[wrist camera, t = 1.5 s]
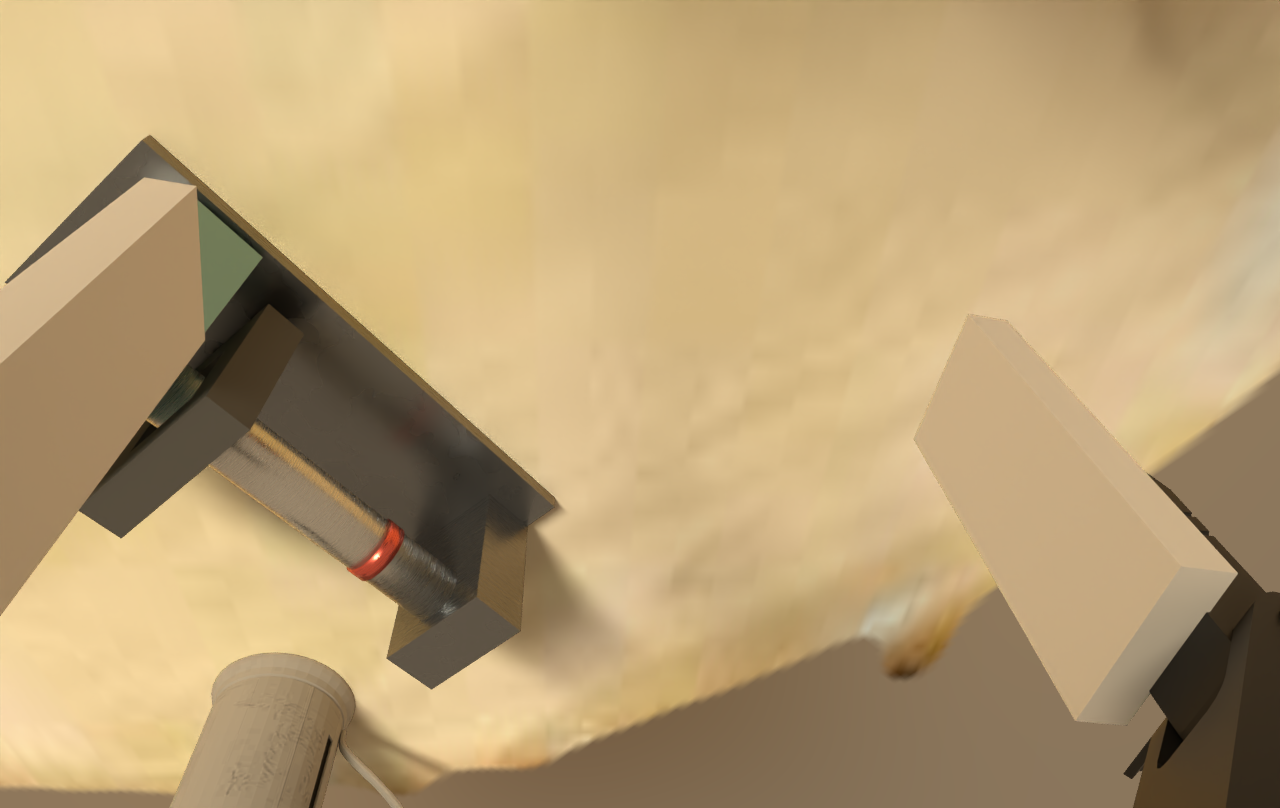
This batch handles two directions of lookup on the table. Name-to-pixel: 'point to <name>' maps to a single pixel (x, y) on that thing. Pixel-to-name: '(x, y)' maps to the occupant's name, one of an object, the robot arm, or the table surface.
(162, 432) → the dark gray square plate
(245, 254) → the green block with hole
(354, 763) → the glass holder
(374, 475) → the grey piece
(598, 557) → the table surface
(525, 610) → the table surface
